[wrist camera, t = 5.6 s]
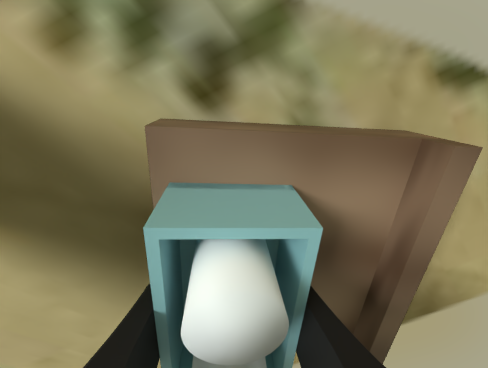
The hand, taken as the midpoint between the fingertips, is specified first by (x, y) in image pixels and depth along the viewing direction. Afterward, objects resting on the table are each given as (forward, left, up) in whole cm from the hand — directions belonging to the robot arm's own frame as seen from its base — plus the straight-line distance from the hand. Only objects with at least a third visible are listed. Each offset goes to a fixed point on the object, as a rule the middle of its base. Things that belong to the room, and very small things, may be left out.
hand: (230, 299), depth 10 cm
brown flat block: (0, -3, -4) cm, 5 cm away
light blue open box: (0, 0, -2) cm, 2 cm away
